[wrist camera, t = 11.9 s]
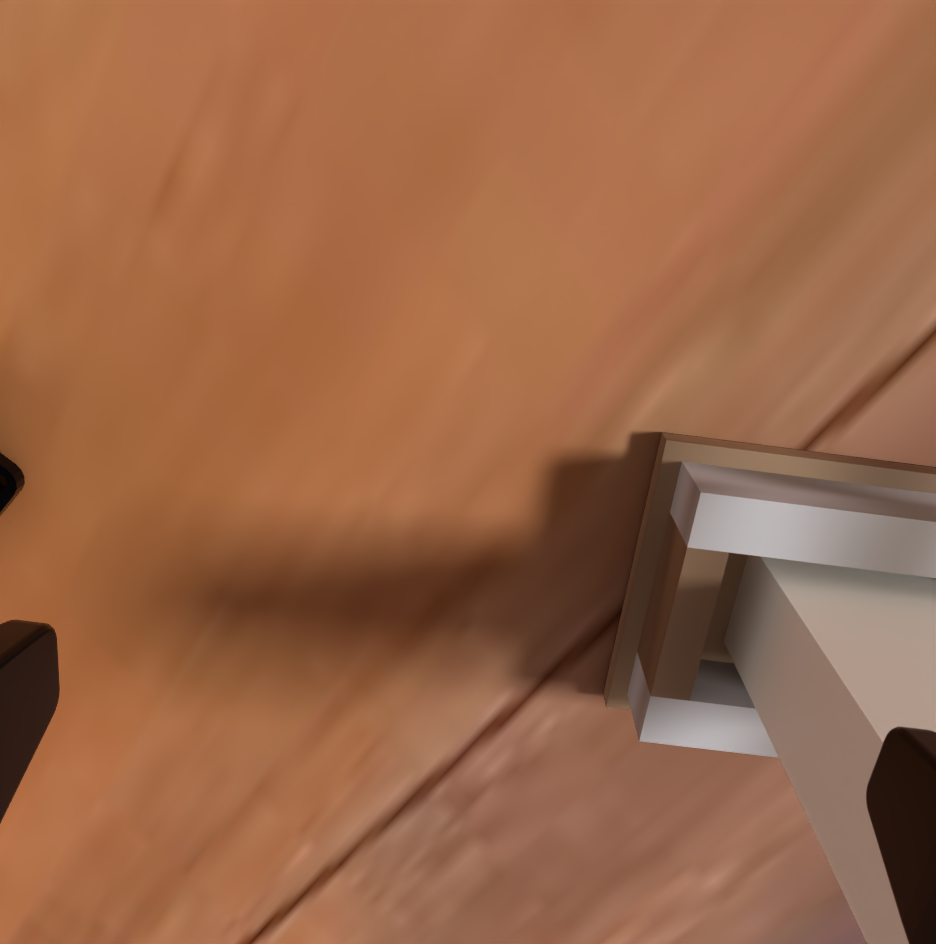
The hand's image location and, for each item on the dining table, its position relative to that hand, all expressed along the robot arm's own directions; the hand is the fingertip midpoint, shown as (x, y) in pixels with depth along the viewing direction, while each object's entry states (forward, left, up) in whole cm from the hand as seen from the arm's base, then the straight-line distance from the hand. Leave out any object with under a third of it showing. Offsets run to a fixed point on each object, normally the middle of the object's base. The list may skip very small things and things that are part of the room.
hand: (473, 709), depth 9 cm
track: (+2, -11, -13) cm, 17 cm away
